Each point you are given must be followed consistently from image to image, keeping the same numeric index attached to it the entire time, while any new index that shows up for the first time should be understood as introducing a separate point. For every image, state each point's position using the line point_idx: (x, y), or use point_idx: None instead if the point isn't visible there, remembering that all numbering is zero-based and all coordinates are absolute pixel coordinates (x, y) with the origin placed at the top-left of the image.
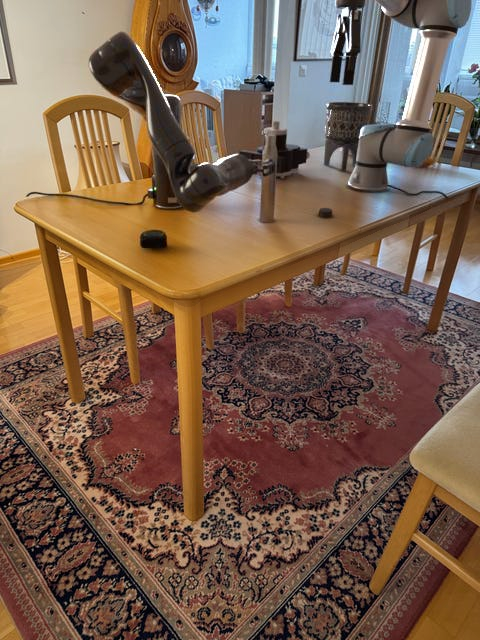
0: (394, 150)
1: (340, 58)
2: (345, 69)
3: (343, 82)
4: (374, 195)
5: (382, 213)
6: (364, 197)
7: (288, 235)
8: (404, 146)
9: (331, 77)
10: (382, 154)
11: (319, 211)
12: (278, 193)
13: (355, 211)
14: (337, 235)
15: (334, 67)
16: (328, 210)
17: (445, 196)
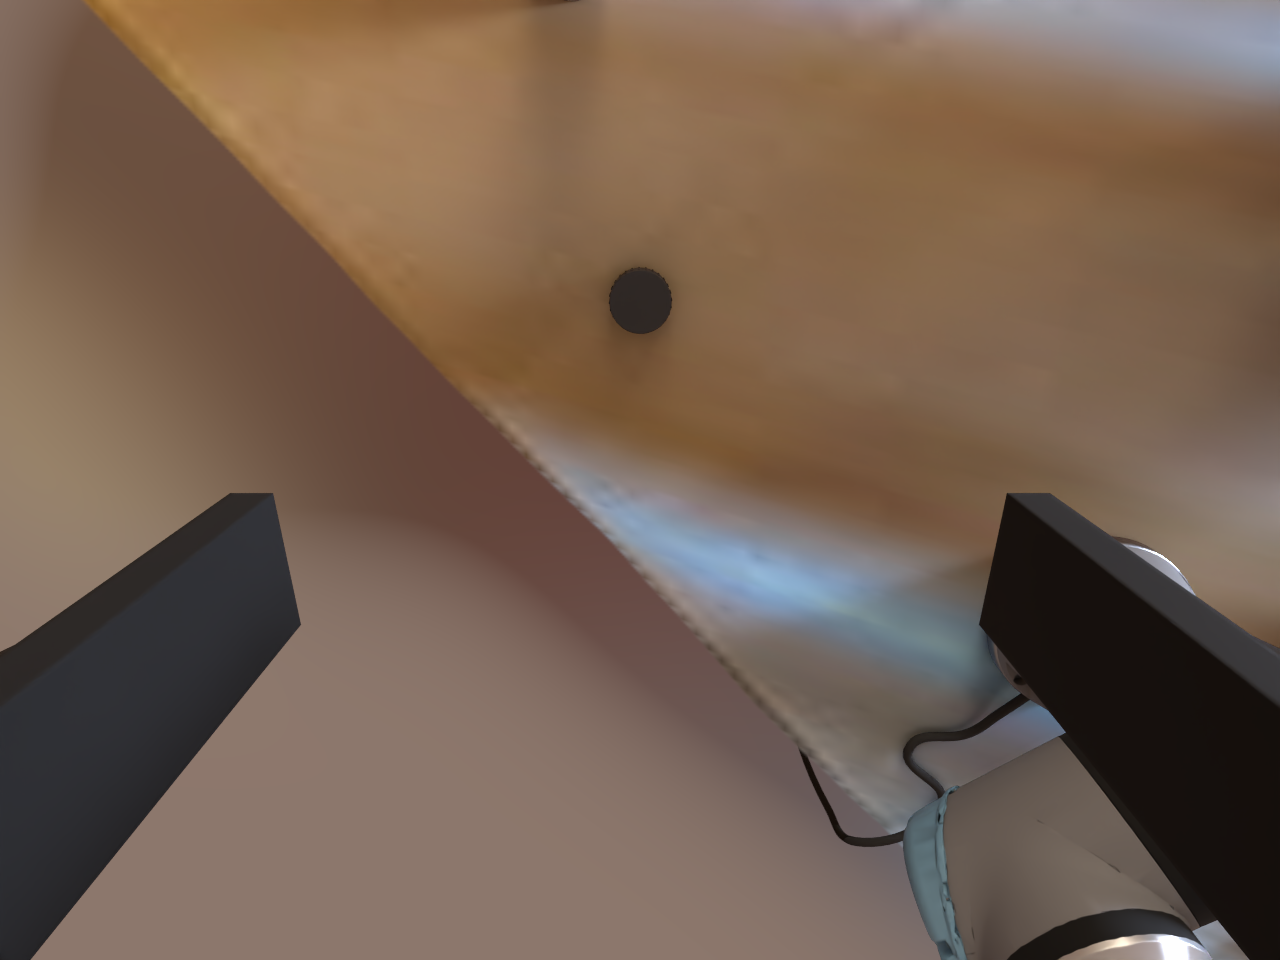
0: (1010, 800)
1: (1241, 903)
2: (79, 612)
3: (211, 508)
4: (944, 607)
5: (674, 554)
6: (919, 556)
7: (349, 48)
8: (976, 851)
9: (1042, 534)
10: (1066, 744)
11: (638, 269)
12: (1081, 120)
13: (707, 455)
14: (377, 287)
15: (1141, 661)
16: (627, 312)
17: (856, 840)
